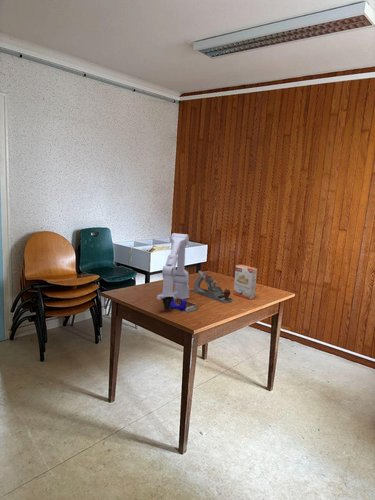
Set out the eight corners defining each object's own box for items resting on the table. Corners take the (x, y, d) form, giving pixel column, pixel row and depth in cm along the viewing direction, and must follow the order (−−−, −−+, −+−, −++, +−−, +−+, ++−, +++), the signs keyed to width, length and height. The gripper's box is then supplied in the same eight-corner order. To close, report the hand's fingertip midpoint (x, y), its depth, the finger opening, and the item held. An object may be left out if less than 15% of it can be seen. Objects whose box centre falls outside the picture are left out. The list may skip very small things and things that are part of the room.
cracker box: (232, 294, 254) (235, 265, 250) (238, 293, 258) (240, 264, 255) (249, 299, 244) (252, 269, 241) (254, 298, 248) (257, 268, 245)
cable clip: (165, 306, 219) (166, 297, 218) (170, 305, 223) (171, 295, 222) (180, 312, 212) (181, 302, 211) (185, 310, 215) (186, 300, 214)
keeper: (176, 301, 230) (177, 297, 229) (197, 309, 218) (198, 304, 217) (166, 304, 223) (166, 299, 223) (186, 312, 211) (187, 307, 211)
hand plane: (225, 304, 233) (227, 281, 230) (189, 291, 256) (190, 270, 254) (234, 301, 239) (236, 279, 236) (198, 289, 263) (199, 268, 260)
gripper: (163, 289, 201) (161, 313, 204) (181, 286, 212) (180, 308, 214) (154, 286, 206) (153, 310, 208) (173, 283, 217) (172, 305, 219)
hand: (166, 309), depth 212 cm, fingers closed
